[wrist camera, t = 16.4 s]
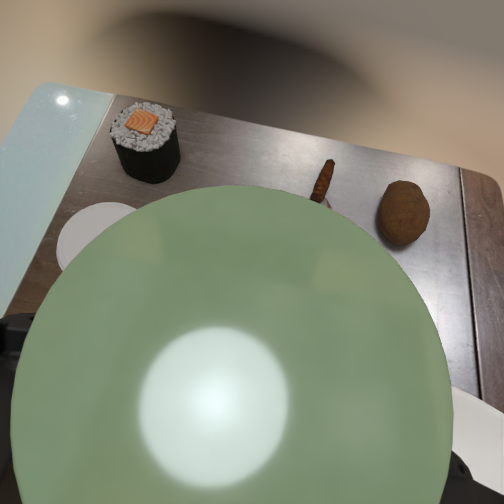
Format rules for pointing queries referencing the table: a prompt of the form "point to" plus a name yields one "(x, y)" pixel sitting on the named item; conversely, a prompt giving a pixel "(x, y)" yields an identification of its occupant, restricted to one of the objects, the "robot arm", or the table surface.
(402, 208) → the potato
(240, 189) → the canister
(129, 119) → the sushi
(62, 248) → the coffee cup
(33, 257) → the table surface
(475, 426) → the bowl
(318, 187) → the kitchen knife
